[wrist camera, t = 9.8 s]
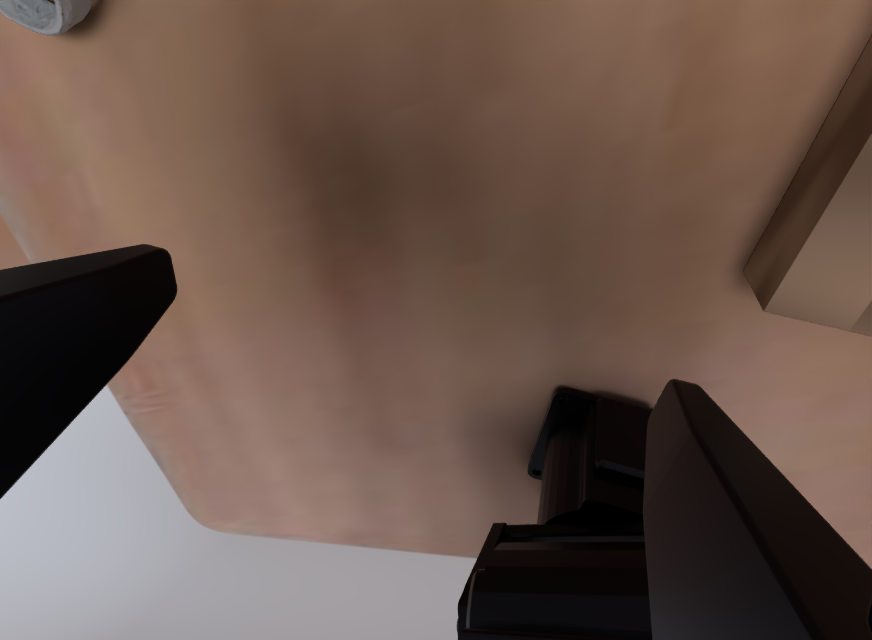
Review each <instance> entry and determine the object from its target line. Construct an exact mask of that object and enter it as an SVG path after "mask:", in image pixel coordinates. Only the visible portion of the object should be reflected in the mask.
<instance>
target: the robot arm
mask: <svg viewBox="0 0 872 640" xmlns="http://www.w3.org/2000/svg"><path fill="white" fill-rule="evenodd" d="M176 294H177V284H176V279H175V274H174V269H173V264H172V259H171V256H170V254H169V252H168V251H167V250H165V249H163V248H160V247H156V246H152V245H148V244H141V245H136V246H130V247H124V248H119V249H113V250H108V251H102V252H97V253H91V254H86V255H80V256H75V257H69V258H64V259H58V260H52V261H47V262H41V263H36V264H30V265H25V266H19V267H14V268H8V269H3V270H0V499H1V498H2V497H3V496H4V495H5V494H6V493H7V491H8V490H9V489H10V488H11V487H12V486H13V485H14V484H15V483H16V482H17V480H19V479H20V477H21V476H22V475H23V474H24V473H25V472H26V471H27V470H28V469H29V468H30V467H31V465H32V464H33V463H34V462H35V461H36V460H37V459H38V458H39V457H40V456H41V455H42V454H43V453H44V452H45V450H46V449H47V448H48V447H49V446H50V445H51V444H52V443H53V442H54V441H55V440H56V438H57V437H58V436H59V435H60V434H61V433H62V432H63V431H64V430H65V429H66V428H67V427H68V426H69V424H70V423H71V422H72V421H73V420H74V419H75V418H76V417H77V416H78V415H79V414H80V412H81V411H82V410H83V409H84V408H85V407H86V406H87V405H88V404H89V403H90V402H91V401H92V400H93V399H94V398H95V396H96V395H97V394H98V393H99V392H100V391H101V390H102V389H103V388H104V387H105V386H106V385H107V383H108V382H109V381H110V380H111V379H112V378H113V377H114V376H115V375H116V374H117V373H118V372H119V371H120V369H121V368H122V367H123V366H124V365H125V364H126V363H127V361H128V360H129V359H130V358H131V357H132V355H133V354H134V353H135V351H136V350H137V349H138V348H139V346H140V345H141V344H142V342H143V341H144V340H145V338H146V337H147V336H148V334H149V333H150V332H151V330H152V329H153V328H154V326H155V325H156V324H157V322H158V321H159V320H160V318H161V317H162V316H163V314H164V313H165V312H166V310H167V309H168V308H169V306H170V305H171V304H172V302H173V301H174V299H175V297H176ZM560 397H566V398H568V399H561V398H560ZM536 469H538V470H536ZM528 474H529V475H530V476H531V477H533V478H535V479H539V480H542V485H541V494H540V503H539V512H538V521H537V524H525V525H507V524H506V523H494V524H493V525H492V528H491V530H490V532H489V534H488V536H487V539H486V541H485V543H484V545H483V547H482V550H481V552H480V554H479V556H478V558H477V561H476V563H475V565H474V567H473V569H472V572H471V574H470V576H469V578H468V580H467V583H466V585H465V588H464V590H463V593H462V595H461V597H460V600H459V602H458V621H457V632H458V640H872V569H871V568H870V567H869V566H868V565H867V564H866V563H865V562H864V560H863V559H862V558H861V557H860V556H859V555H858V554H857V553H856V552H855V551H854V550H853V549H852V548H851V547H850V546H849V544H848V543H847V542H846V541H845V540H844V539H843V538H842V537H841V536H840V535H839V534H838V533H837V532H836V531H835V530H834V529H833V527H832V526H831V525H830V524H829V523H828V522H827V521H826V520H825V519H824V518H823V517H822V516H821V515H820V514H819V513H818V511H817V510H816V509H815V508H814V507H813V506H812V505H811V504H810V503H809V502H808V501H807V500H806V499H805V498H804V497H803V496H802V494H801V493H800V492H799V491H798V490H797V489H796V488H795V487H794V486H793V485H792V484H791V483H790V482H789V481H788V480H787V478H786V477H785V476H784V475H783V474H782V473H781V472H780V471H779V470H778V469H777V468H776V467H775V466H774V465H773V464H772V463H771V461H770V460H769V459H768V458H767V457H766V456H765V455H764V454H763V453H762V452H761V451H760V450H759V449H758V448H757V447H756V445H755V444H754V443H753V442H752V441H751V440H750V439H749V438H748V437H747V436H746V435H745V434H744V433H743V432H742V431H741V430H740V428H739V427H738V426H737V425H736V424H735V423H734V422H733V421H732V420H731V419H730V418H729V417H728V416H727V415H726V414H725V412H724V411H723V410H722V409H721V408H720V407H719V406H718V405H717V404H716V403H715V402H714V401H713V400H712V399H711V398H710V397H709V395H708V394H707V393H706V392H705V391H704V390H703V389H702V388H701V387H700V386H699V385H697V384H694V383H690V382H686V381H682V380H678V379H672V380H670V381H669V382H668V383H667V384H666V386H665V388H664V390H663V391H662V393H661V395H660V397H659V399H658V401H657V403H656V405H655V407H654V409H653V411H652V410H648V409H644V408H640V407H637V406H633V405H629V404H625V403H622V402H618V401H614V400H610V399H607V398H603V397H599V396H595V395H592V394H588V393H584V392H580V391H576V390H573V389H569V388H563V387H562V388H558V389H557V390H555V392H554V394H553V397H552V399H551V402H550V405H549V408H548V411H547V413H546V416H545V419H544V422H543V425H542V428H541V430H540V433H539V436H538V439H537V442H536V445H535V447H534V450H533V453H532V456H531V459H530V461H529V464H528Z"/></svg>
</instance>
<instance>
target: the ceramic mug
mask: <svg viewBox="0 0 872 640" xmlns="http://www.w3.org/2000/svg"><path fill="white" fill-rule="evenodd" d="M54 1H55V4H53V3H51V2H49V1H47V0H0V12H1V13H2V14H4V15H5V16H6V17H8V18H9V19H11V20H13V21H15V22H16V23H18V24H20V25H22V26H24V27H26V28H28V29H30V30H32V31H35V32H37V33H40V34H44V35H48V36H55V35H58V34H62V33H65V32H66V31H68V30H69V29H70V28H71V27H72V26H73V25H75V24H77V23H79V22H80V21H82V20H83V19H84V18H85V16H86V15H87V14H88V12H89V11H90V8H91V5H92V0H54Z"/></svg>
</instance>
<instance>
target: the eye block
mask: <svg viewBox="0 0 872 640" xmlns="http://www.w3.org/2000/svg"><path fill="white" fill-rule="evenodd" d="M743 272H744V274H745V276H746V278H747V280H748V282H749V284H750V286H751V288H752V290H753V292H754V293H755V295H756V297H757V299H758V301H759V303H760V305H761V307H762V309H763V311H764V312H768V313H772V314H777V315H781V316H785V317H790V318H794V319H798V320H803V321H807V322H811V323H816V324H820V325H824V326H829V327H833V328H837V329H841V330H846V331H850V332H854V333H859V334H863V335H867V336H872V36H871V38H870V40H869V42H868V44H867V45H866V47H865V49H864V51H863V53H862V55H861V56H860V58H859V60H858V62H857V64H856V66H855V67H854V69H853V71H852V73H851V75H850V77H849V78H848V80H847V82H846V84H845V86H844V88H843V89H842V91H841V93H840V95H839V97H838V98H837V100H836V102H835V104H834V106H833V108H832V109H831V111H830V113H829V115H828V117H827V119H826V120H825V122H824V124H823V126H822V128H821V130H820V131H819V133H818V135H817V137H816V139H815V141H814V142H813V144H812V146H811V148H810V150H809V151H808V153H807V155H806V157H805V159H804V161H803V162H802V164H801V166H800V168H799V170H798V172H797V173H796V175H795V177H794V179H793V181H792V183H791V184H790V186H789V188H788V190H787V192H786V194H785V195H784V197H783V199H782V201H781V203H780V204H779V206H778V208H777V210H776V212H775V214H774V215H773V217H772V219H771V221H770V223H769V225H768V226H767V228H766V230H765V232H764V234H763V236H762V237H761V239H760V241H759V243H758V245H757V247H756V248H755V250H754V252H753V254H752V256H751V257H750V259H749V261H748V263H747V265H746V267H745V268H744V270H743Z"/></svg>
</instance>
